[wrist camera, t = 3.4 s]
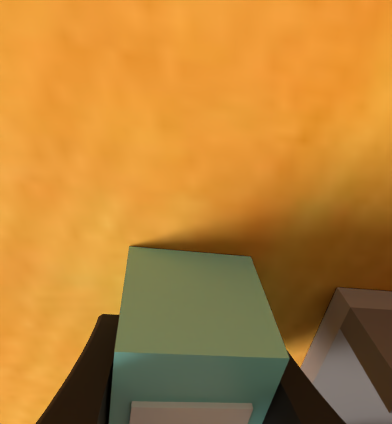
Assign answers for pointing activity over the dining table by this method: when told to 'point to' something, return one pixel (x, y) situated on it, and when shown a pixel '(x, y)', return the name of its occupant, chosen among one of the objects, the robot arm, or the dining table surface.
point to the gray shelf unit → (354, 356)
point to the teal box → (194, 341)
